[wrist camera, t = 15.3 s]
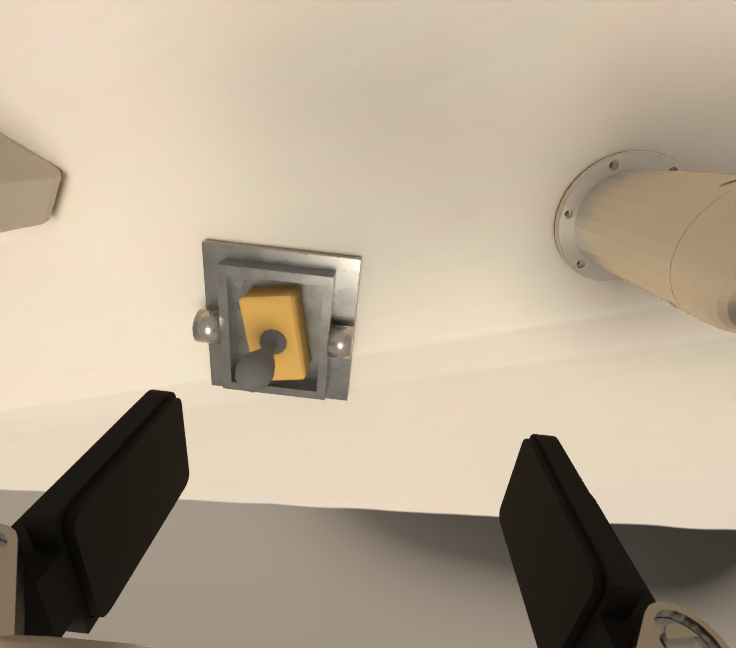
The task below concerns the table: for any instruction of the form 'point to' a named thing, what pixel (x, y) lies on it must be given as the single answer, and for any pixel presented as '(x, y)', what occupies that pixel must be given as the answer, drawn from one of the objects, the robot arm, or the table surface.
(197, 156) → the table surface
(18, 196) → the grey control panel
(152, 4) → the table surface
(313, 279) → the grey metal square tray
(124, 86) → the table surface
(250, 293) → the rubber stamp
